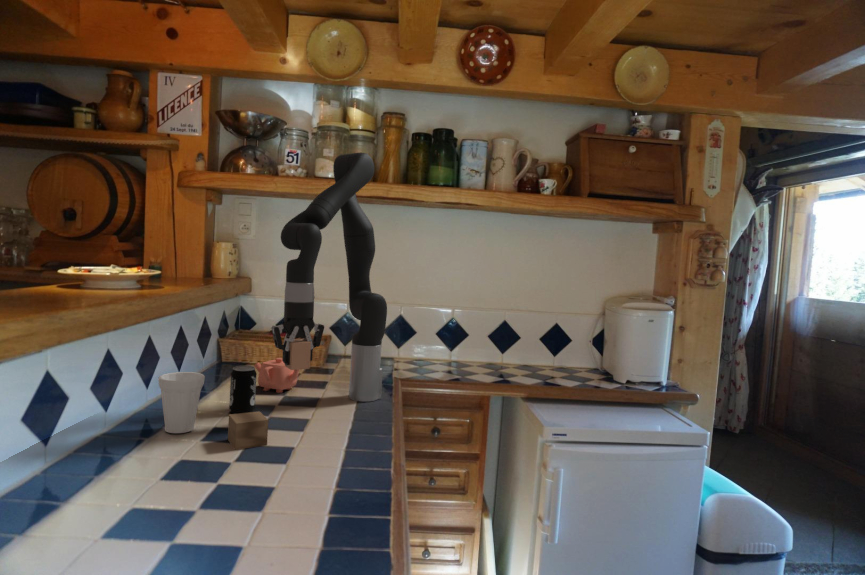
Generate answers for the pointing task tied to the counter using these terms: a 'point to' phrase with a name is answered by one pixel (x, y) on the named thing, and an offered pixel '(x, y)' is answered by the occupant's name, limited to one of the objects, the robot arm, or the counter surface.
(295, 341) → the tan cardboard cube
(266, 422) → the base block
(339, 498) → the counter surface
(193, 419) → the cup
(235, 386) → the beverage can
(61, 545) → the counter surface
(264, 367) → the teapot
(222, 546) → the counter surface
